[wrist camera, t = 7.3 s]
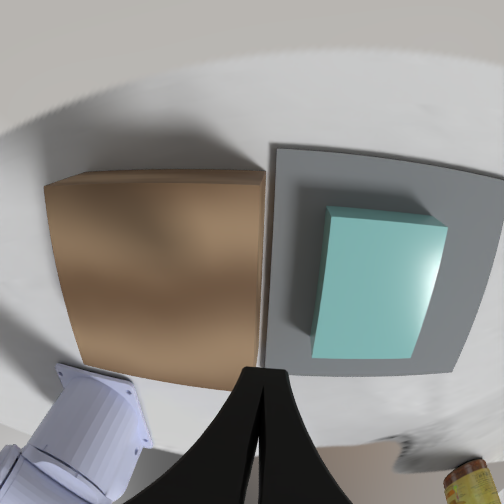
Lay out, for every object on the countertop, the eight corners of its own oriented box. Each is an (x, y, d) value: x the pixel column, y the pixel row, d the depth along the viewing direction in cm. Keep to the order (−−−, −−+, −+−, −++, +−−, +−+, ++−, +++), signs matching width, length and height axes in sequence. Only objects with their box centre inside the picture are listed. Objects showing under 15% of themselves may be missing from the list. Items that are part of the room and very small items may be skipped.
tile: (311, 357, 17) (310, 336, 19) (410, 358, 17) (401, 338, 18) (331, 216, 14) (326, 205, 16) (448, 227, 14) (432, 215, 15)
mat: (450, 368, 20) (451, 372, 19) (264, 369, 21) (264, 373, 20) (506, 180, 14) (510, 182, 14) (276, 147, 15) (276, 148, 15)
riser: (258, 348, 20) (252, 393, 16) (110, 329, 21) (84, 364, 17) (266, 171, 16) (260, 185, 12) (85, 171, 17) (43, 186, 13)
